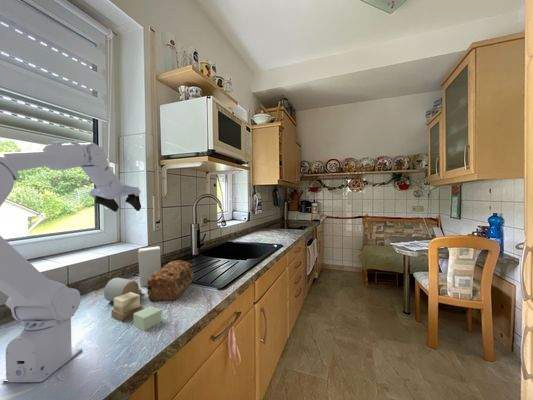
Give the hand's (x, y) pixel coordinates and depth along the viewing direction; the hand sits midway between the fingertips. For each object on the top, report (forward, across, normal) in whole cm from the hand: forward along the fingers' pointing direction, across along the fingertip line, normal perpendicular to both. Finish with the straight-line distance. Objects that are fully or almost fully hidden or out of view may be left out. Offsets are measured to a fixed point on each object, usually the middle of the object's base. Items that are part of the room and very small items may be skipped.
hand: (128, 209), depth 76 cm
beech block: (+14, -4, +28) cm, 31 cm away
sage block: (+12, -13, +33) cm, 37 cm away
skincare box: (+35, +3, +12) cm, 37 cm away
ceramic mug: (+24, +4, +22) cm, 33 cm away
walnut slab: (+16, -4, +29) cm, 33 cm away
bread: (+29, -10, +17) cm, 35 cm away
